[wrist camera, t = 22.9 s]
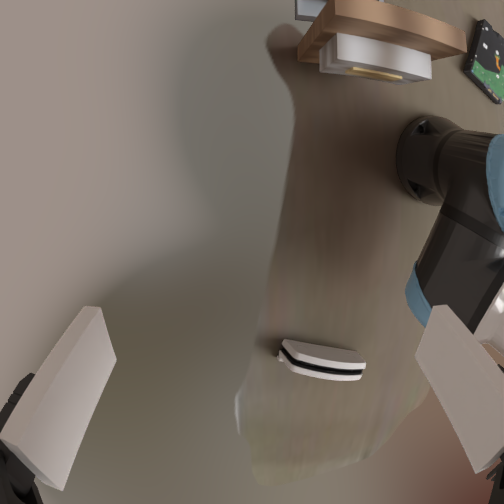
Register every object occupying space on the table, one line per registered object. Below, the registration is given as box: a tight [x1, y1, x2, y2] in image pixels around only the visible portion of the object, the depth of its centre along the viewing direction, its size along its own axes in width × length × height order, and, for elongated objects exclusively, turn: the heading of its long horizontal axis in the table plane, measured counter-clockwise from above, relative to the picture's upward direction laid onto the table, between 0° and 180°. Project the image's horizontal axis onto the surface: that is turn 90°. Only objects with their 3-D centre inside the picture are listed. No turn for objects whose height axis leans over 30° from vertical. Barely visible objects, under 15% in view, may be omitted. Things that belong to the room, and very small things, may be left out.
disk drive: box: [464, 19, 504, 104], centre depth 34 cm, size 10×3×15 cm
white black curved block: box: [277, 339, 366, 381], centre depth 54 cm, size 17×5×10 cm, turn 74°
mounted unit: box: [297, 0, 467, 85], centre depth 28 cm, size 14×6×21 cm, turn 89°
